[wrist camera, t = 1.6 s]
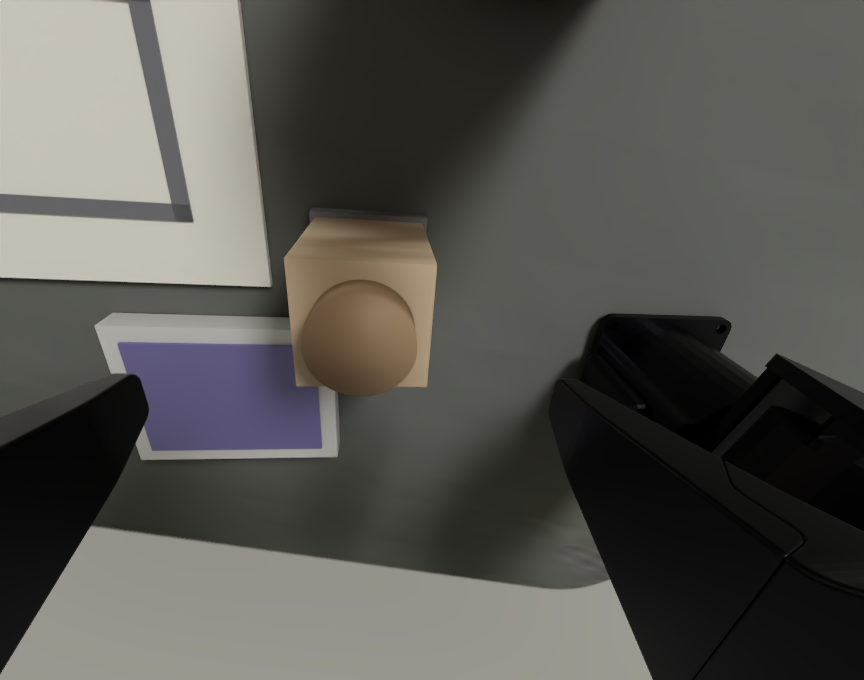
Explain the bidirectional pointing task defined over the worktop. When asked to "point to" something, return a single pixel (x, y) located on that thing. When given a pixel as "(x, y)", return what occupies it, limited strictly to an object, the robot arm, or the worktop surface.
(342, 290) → the stamp
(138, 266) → the print card
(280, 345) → the ink pad
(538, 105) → the worktop surface
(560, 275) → the worktop surface
